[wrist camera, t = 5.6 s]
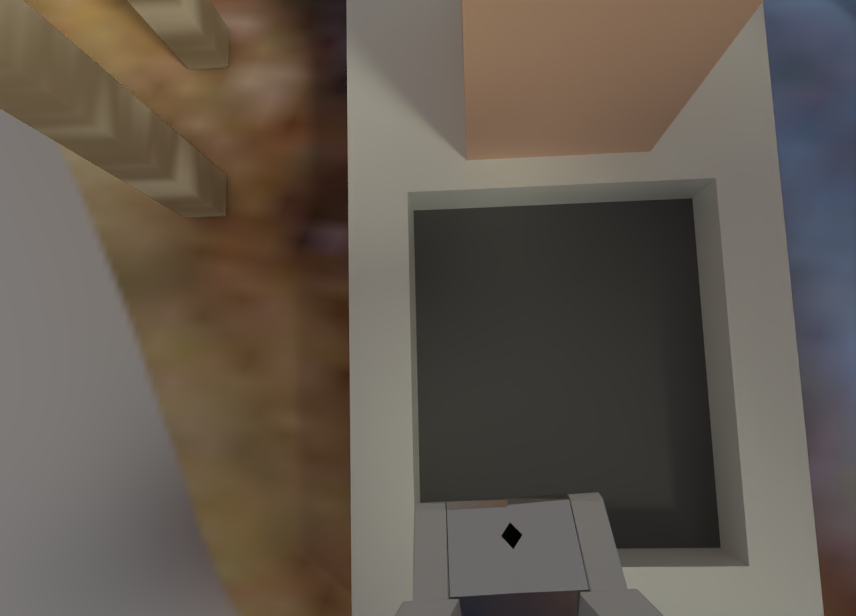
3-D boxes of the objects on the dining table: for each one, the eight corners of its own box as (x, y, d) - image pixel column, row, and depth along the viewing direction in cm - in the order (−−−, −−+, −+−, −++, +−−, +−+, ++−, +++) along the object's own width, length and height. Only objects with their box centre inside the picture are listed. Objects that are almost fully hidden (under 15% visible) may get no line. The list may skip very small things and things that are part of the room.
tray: (784, 607, 21) (826, 637, 18) (365, 608, 22) (351, 636, 19) (705, -242, 25) (731, -312, 22) (356, -211, 26) (344, -274, 23)
